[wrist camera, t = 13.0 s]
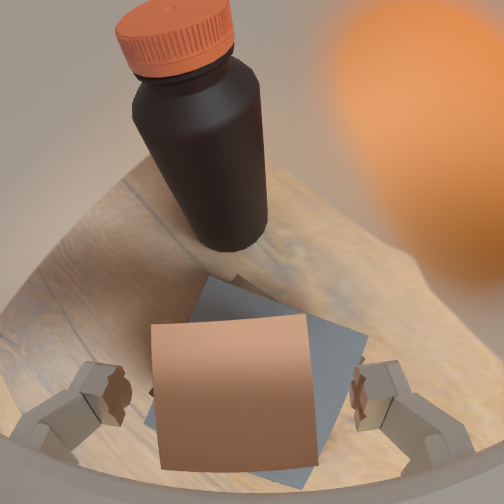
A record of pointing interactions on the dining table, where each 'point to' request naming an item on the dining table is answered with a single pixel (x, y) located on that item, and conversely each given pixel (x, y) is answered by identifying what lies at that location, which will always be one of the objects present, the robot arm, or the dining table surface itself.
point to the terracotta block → (234, 395)
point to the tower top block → (321, 354)
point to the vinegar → (199, 116)
